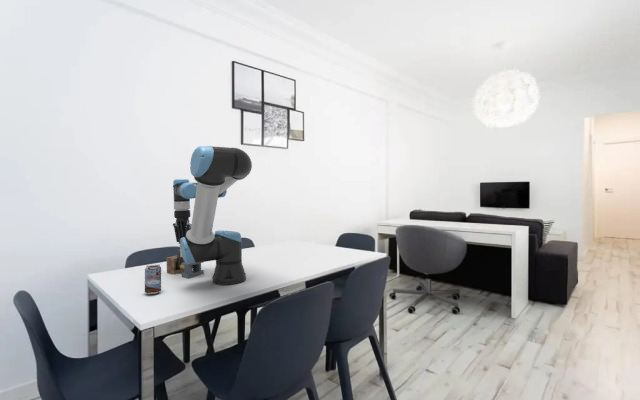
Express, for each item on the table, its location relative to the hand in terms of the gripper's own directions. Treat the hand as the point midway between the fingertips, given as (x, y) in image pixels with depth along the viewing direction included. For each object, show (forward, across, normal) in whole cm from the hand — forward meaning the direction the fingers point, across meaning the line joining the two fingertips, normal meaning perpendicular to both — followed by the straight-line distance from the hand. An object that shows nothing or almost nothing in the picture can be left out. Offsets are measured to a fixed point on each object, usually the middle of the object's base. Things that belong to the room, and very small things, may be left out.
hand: (183, 256), depth 167 cm
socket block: (+9, +6, 0) cm, 11 cm away
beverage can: (+9, -16, +26) cm, 32 cm away
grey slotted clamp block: (+9, -7, 0) cm, 11 cm away
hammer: (+7, +1, 0) cm, 7 cm away
